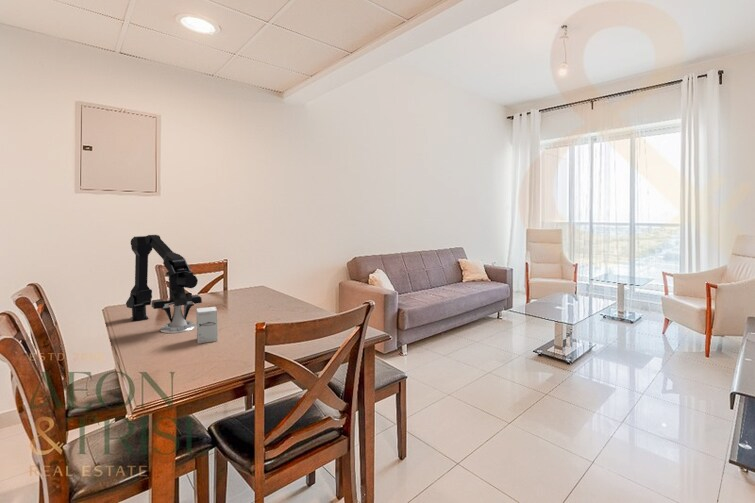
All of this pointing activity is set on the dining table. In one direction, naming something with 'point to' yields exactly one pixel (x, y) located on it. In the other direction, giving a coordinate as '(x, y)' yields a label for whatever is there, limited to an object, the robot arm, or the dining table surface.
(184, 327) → the duct flange
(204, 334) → the supplement box
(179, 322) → the flask
